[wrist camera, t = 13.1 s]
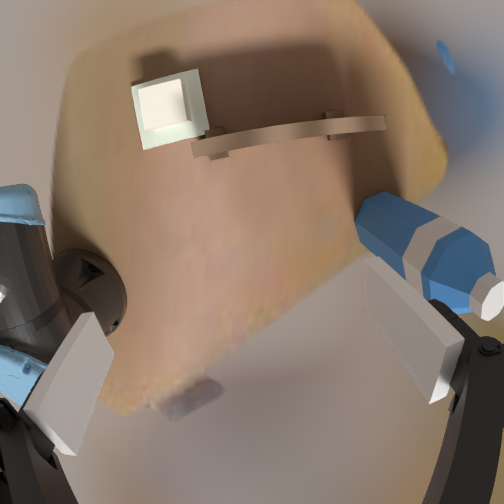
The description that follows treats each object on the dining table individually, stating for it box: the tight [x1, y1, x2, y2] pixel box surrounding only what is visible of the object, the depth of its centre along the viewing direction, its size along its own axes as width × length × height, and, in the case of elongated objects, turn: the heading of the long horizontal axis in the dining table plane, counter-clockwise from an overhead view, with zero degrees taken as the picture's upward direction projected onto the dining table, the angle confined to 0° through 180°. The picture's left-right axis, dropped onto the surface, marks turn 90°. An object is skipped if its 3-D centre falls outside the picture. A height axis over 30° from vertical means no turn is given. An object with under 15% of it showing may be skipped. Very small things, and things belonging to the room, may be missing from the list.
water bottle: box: [355, 191, 504, 321], centre depth 32 cm, size 9×9×25 cm
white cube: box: [138, 79, 192, 131], centre depth 32 cm, size 5×5×5 cm
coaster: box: [131, 69, 210, 150], centre depth 35 cm, size 9×9×1 cm
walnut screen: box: [191, 110, 387, 161], centre depth 33 cm, size 20×4×11 cm, turn 100°
